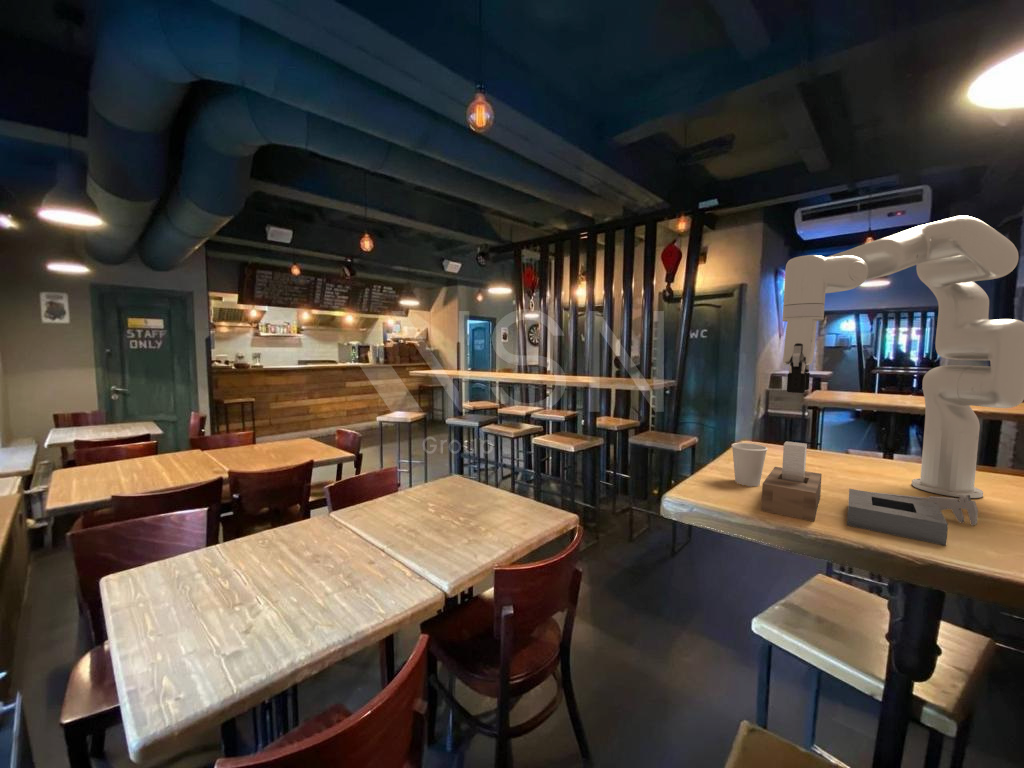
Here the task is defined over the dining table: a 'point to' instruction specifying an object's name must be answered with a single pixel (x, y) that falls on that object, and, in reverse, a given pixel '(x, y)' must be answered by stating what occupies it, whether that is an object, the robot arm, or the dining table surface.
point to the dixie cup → (748, 463)
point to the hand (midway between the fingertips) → (798, 391)
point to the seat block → (897, 516)
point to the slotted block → (791, 495)
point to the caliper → (951, 505)
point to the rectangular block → (794, 462)
